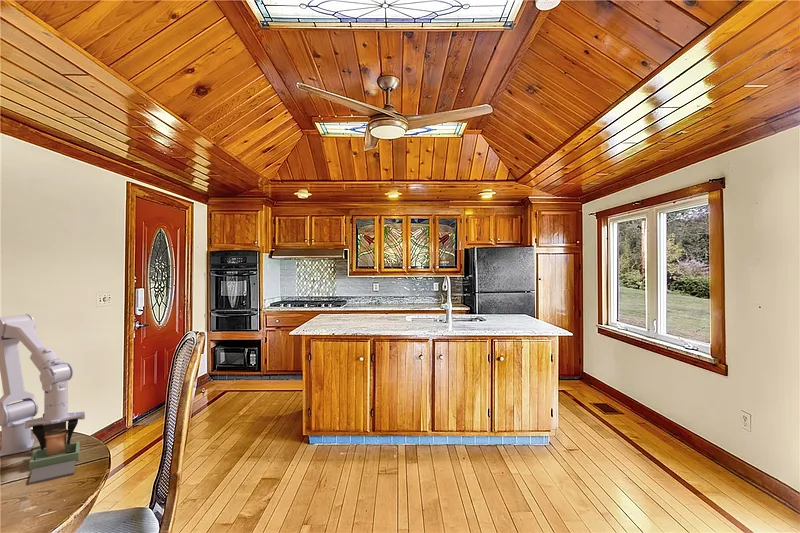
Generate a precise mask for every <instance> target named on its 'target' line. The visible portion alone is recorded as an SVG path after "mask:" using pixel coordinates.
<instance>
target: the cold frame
mask: <svg viewBox="0 0 800 533" xmlns="http://www.w3.org/2000/svg"><path fill="white" fill-rule="evenodd" d="M80 444H81V442H80V441H76V442H70V444H69V445H67V443H66V450H65V451H64V452H61V453H59V454H58V455H57V454H54V455H53V456H52V455H46V448H44V449H43V450H41V448H39V449H33V450H32V453H31V456H30V460H29V464H28V465H29V466H28V468H29V469H28V470H29V472H30V471H31V472H32V470H33V469H36V468H41V467H45V466H50V465H55V464H60V463H64V462H69V461H74V460H75V462H78V461H77V460H79V459H80V450H81V448H80V447H81V446H80Z"/></svg>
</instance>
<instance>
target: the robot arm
mask: <svg viewBox="0 0 800 533" xmlns="http://www.w3.org/2000/svg"><path fill="white" fill-rule="evenodd" d="M36 325H37V322H36V319H35V317H34V316H33V315H31V314H29V313H27V314H20V315H9V316H0V378H1V385H2V392H3V395H2V396H1V397H0V427H1V428H0V429H1V430H0V432H1V437H0V438H1V439H0V440H1V441H0V444H1V446H0V457H3V456H8V455H13V454H14V455H15V454H18V453H25V452H30V451H31V450H32V449H33V445H34V442H35V439H33V438H32V434H33V435H34V436H35V437H36V439H37V441H38V443H39V447H40V449H41V450H43V449H44V447H45V442H44V425H48V424H54V423H60V422H66V423H67V430H68V433H67V437H66V444H67V445H69V444H70V443H71V440H72V437H73V433H74V431H75V429H76V428H77V426H78V422H79V421H80V420H81V421H82V420H85V419H86V411H79V412H78V411H77V412H69V410H68V409H69V408H68V407H69V406H68V405H69V404H68V403H69V381H71V379H72V378H73V374H74V370H73V367H72V365H71V364H70V363H69V362H65V361H64V360H61V359H60V358H59V357H58V355H57V354H56V353H55V351H54V350H53V348H52V347H49V346H45V345H44V343H43V342H42V340H41V338H40V336H39V334H38V333H37V331H36V327H37V326H36ZM20 342H21V343H22V345H24V347H26V348H27V350H28V351H29V352H30V353H31V354H30V357H29V359H30V360H31V362H32V363H33V365H34V366H35V367H36V368H37V370H38V371H39V373H40V374H39V380H40V381H39V382H40V383H41V389H42V391H44V392H43V395H44V398H43V400H44V401H43V403H44V405H43V414H44V417H43V416H41V417H37V418H35V417H36V416H37V415H38V412H39V403H38V401H37V400H36V397H35V394H33V393H31V392H29V391H27V390H25V385H24V384H25V383H24V378H23V372H22V365H21V359H20V354H19V346H18V344H19V343H20Z"/></svg>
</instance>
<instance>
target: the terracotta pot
mask: <svg viewBox="0 0 800 533" xmlns="http://www.w3.org/2000/svg"><path fill="white" fill-rule="evenodd" d="M67 435H68V428H66V429H55V430H51V431H48V432H46V433H45V434H44V438H45V439H46V455H51V456H55V455H54V454H56V455H60V454H59V453H61V452H64V451H65V450H66V444H67ZM61 454H62V453H61Z"/></svg>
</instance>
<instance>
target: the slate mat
mask: <svg viewBox="0 0 800 533" xmlns="http://www.w3.org/2000/svg"><path fill="white" fill-rule="evenodd" d="M75 466H76V461H75V460H74V461H69V462H64V463H60V464H55V465H50V466H45V467H41V468H36V469H33V470H32V471H31V473H30V477H29V480H28V485H34V484H39V483H43V482H46V481H51V480H55V479H60V478H65V477H69V476H73V475H75V470H76V467H75Z"/></svg>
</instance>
